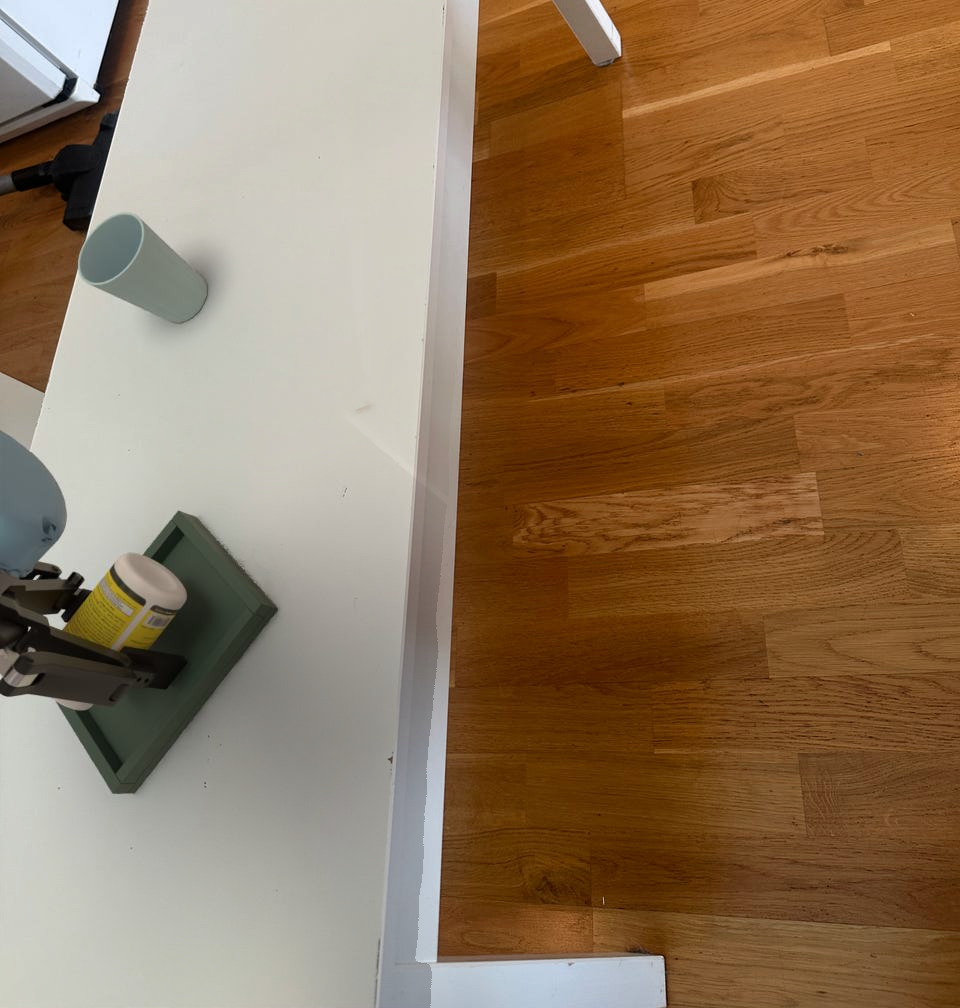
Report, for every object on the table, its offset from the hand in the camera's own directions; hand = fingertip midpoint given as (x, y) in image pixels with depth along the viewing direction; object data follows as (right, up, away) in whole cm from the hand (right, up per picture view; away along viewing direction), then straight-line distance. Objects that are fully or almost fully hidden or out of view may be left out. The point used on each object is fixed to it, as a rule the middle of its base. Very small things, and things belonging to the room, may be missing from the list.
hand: (153, 644), depth 72 cm
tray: (+1, -1, +1) cm, 2 cm away
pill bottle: (+2, +7, -4) cm, 8 cm away
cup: (-3, +30, +17) cm, 35 cm away
